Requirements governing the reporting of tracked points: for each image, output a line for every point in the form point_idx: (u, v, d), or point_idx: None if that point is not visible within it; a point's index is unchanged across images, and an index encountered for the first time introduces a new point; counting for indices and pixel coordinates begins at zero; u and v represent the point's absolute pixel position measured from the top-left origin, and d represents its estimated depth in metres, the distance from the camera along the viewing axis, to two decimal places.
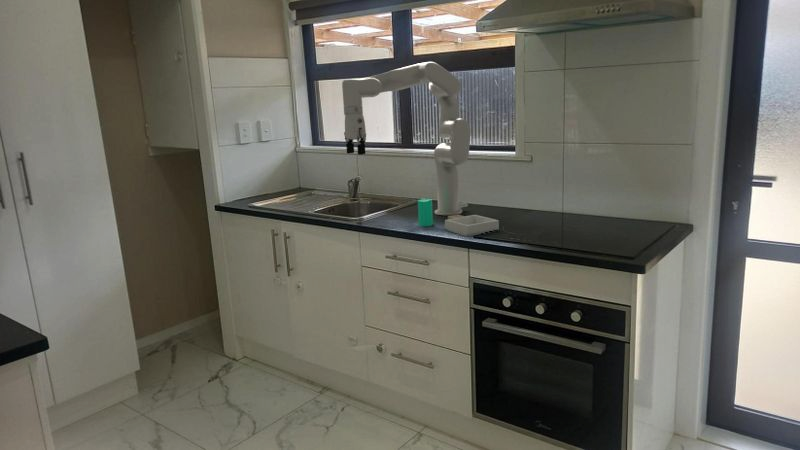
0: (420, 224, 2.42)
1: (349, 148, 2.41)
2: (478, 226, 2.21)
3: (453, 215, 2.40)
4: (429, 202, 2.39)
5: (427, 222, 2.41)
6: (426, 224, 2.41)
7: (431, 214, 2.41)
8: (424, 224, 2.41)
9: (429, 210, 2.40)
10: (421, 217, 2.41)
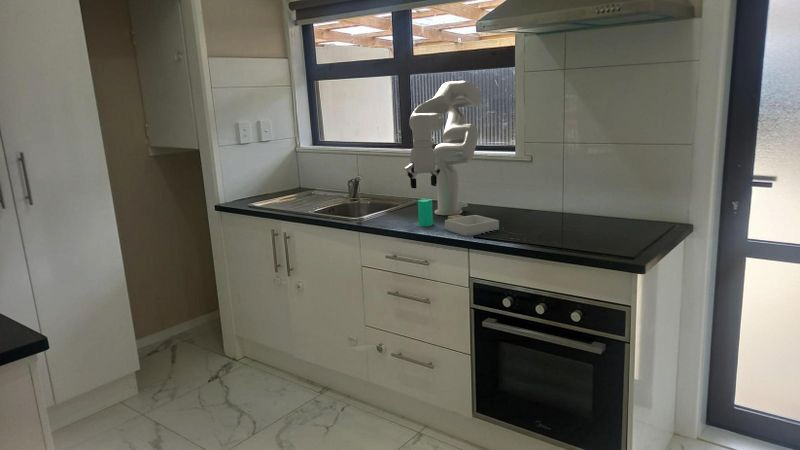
0: (420, 224, 2.42)
1: None
2: (478, 226, 2.21)
3: (453, 215, 2.40)
4: (429, 202, 2.39)
5: (427, 222, 2.41)
6: (426, 224, 2.41)
7: (431, 214, 2.41)
8: (424, 224, 2.41)
9: (429, 210, 2.40)
10: (421, 217, 2.41)
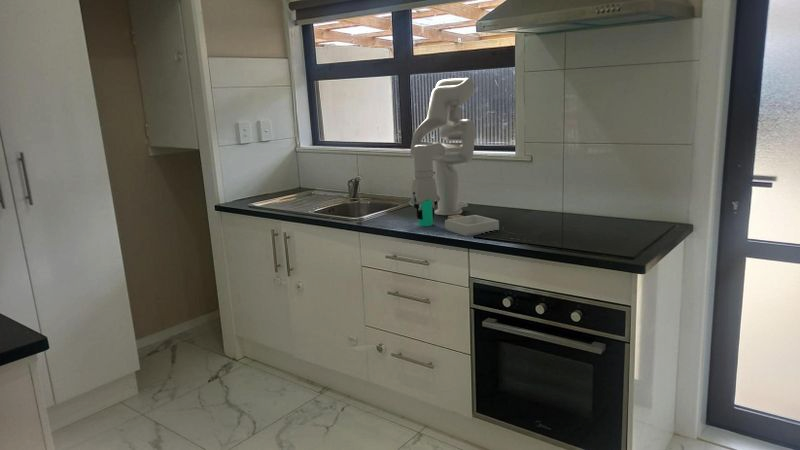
0: (420, 224, 2.42)
1: None
2: (478, 226, 2.21)
3: (453, 215, 2.40)
4: (429, 202, 2.39)
5: (427, 222, 2.41)
6: (426, 224, 2.41)
7: (431, 214, 2.41)
8: (424, 224, 2.41)
9: (429, 210, 2.40)
10: None
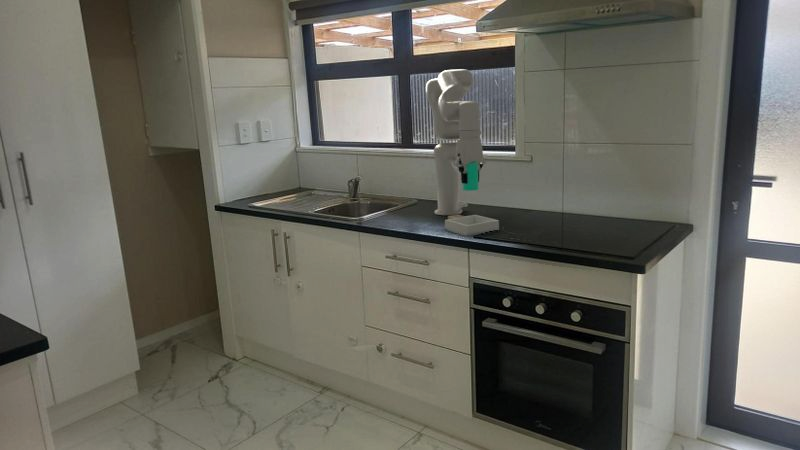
0: (465, 188, 2.25)
1: None
2: (478, 226, 2.21)
3: (453, 215, 2.40)
4: (475, 164, 2.22)
5: (472, 186, 2.23)
6: (471, 188, 2.23)
7: (477, 178, 2.24)
8: (469, 188, 2.23)
9: (475, 173, 2.23)
10: None
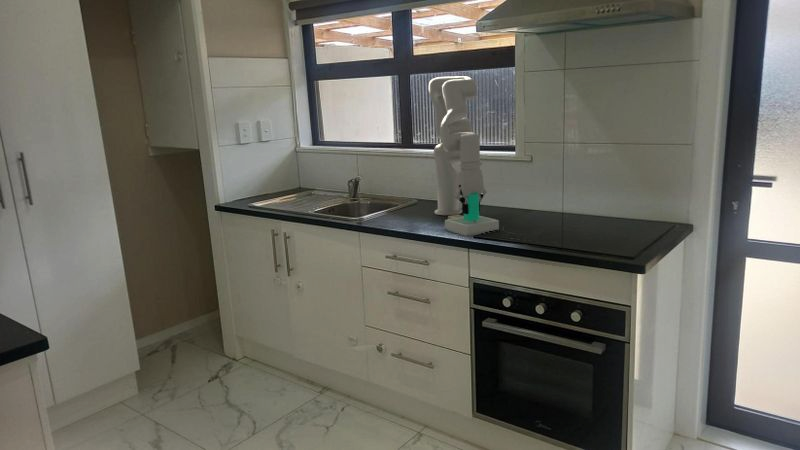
0: (466, 219, 2.27)
1: None
2: (478, 226, 2.21)
3: (453, 215, 2.40)
4: (476, 195, 2.24)
5: (473, 216, 2.25)
6: (472, 219, 2.26)
7: (478, 208, 2.26)
8: (470, 219, 2.26)
9: (476, 204, 2.25)
10: None
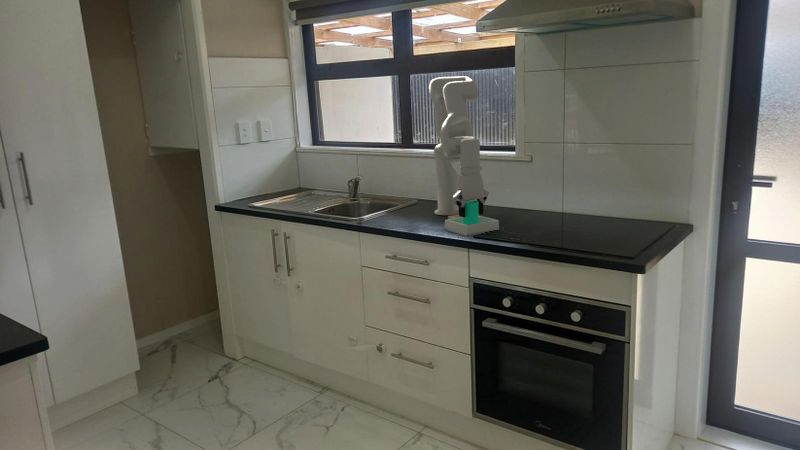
0: None
1: None
2: (478, 226, 2.21)
3: (453, 215, 2.40)
4: (475, 204, 2.25)
5: None
6: None
7: (477, 217, 2.27)
8: None
9: (475, 213, 2.26)
10: (467, 220, 2.26)
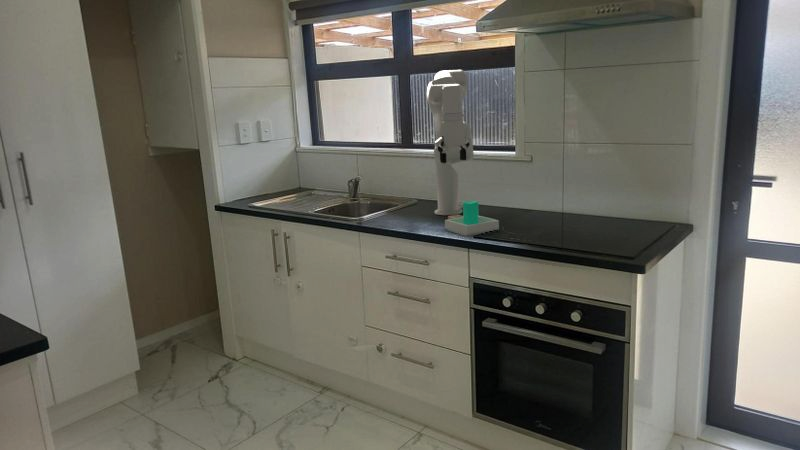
0: None
1: None
2: (478, 226, 2.21)
3: (453, 215, 2.40)
4: (475, 204, 2.25)
5: None
6: None
7: (477, 217, 2.27)
8: None
9: (475, 213, 2.26)
10: (467, 220, 2.27)
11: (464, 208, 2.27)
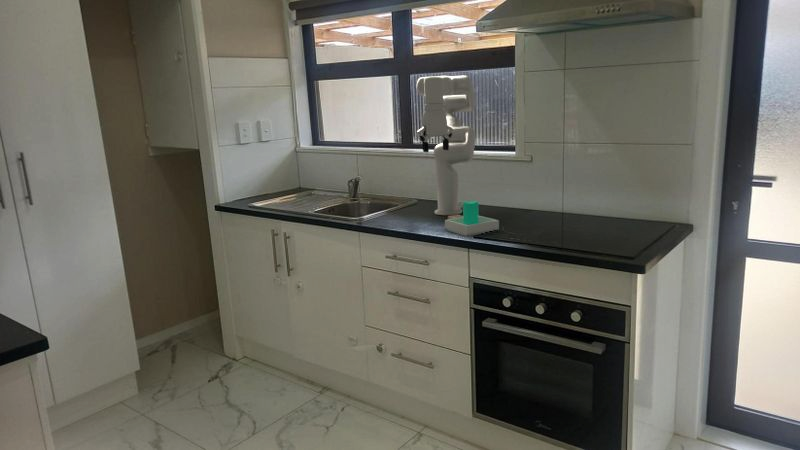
0: None
1: None
2: (478, 226, 2.21)
3: (453, 215, 2.40)
4: (475, 204, 2.25)
5: None
6: None
7: (477, 217, 2.27)
8: None
9: (475, 213, 2.26)
10: (467, 220, 2.27)
11: (464, 208, 2.27)
